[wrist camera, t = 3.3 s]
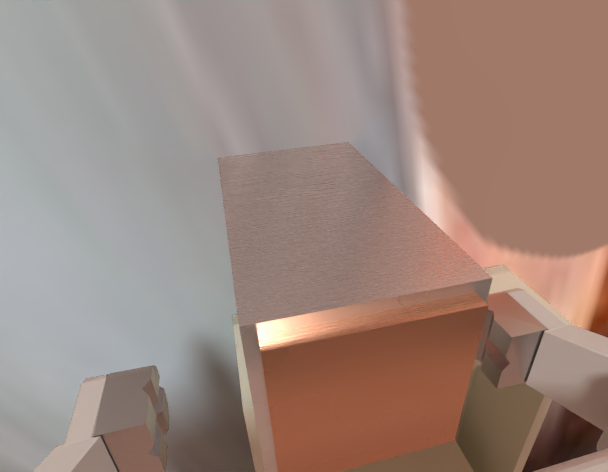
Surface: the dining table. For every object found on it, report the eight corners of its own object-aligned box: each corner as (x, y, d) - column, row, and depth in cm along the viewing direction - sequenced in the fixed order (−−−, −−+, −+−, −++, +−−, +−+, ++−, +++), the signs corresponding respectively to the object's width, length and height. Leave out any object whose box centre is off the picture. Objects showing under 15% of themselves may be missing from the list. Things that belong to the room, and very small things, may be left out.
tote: (503, 264, 21) (581, 332, 17) (453, 460, 30) (494, 535, 26) (232, 315, 18) (242, 409, 14) (268, 511, 28) (281, 602, 23)
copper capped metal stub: (348, 142, 15) (505, 289, 8) (347, 250, 18) (463, 445, 10) (217, 157, 15) (240, 342, 7) (236, 269, 17) (268, 496, 9)
